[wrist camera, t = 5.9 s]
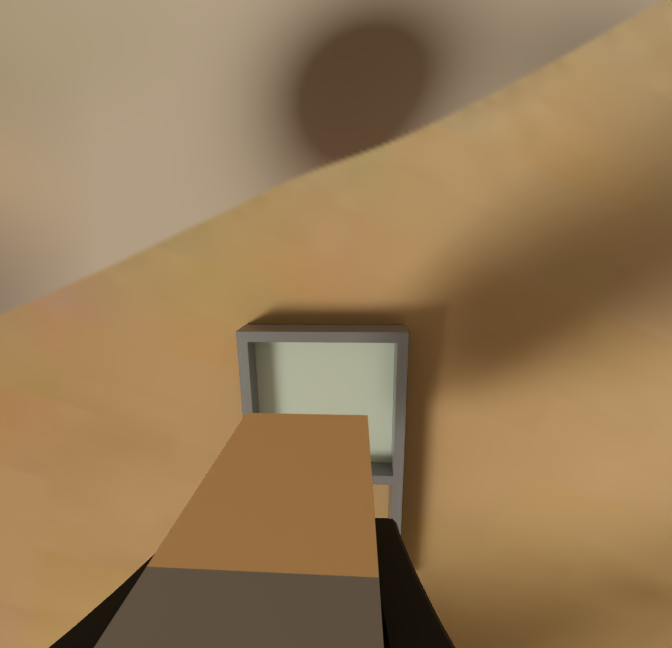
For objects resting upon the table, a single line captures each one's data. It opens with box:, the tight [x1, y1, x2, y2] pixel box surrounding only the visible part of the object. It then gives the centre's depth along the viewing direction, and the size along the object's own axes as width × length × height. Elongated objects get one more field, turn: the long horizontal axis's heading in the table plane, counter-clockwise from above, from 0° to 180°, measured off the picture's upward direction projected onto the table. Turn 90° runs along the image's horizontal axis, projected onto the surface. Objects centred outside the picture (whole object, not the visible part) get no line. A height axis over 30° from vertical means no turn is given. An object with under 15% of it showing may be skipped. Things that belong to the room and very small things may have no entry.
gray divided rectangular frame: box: [236, 324, 409, 535], centre depth 18 cm, size 16×8×2 cm, turn 0°
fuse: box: [94, 413, 384, 648], centre depth 8 cm, size 5×4×7 cm
